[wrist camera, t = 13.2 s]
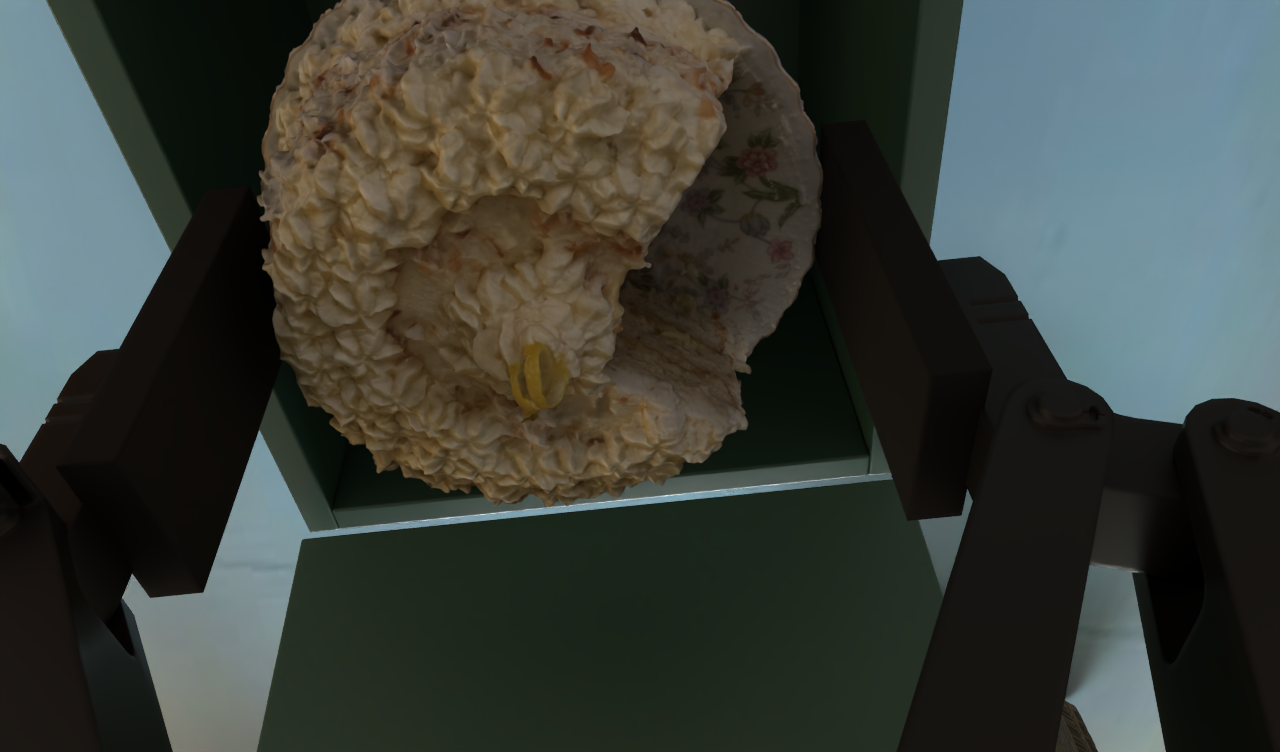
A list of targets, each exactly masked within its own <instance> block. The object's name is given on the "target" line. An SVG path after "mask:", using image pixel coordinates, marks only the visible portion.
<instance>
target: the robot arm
mask: <svg viewBox="0 0 1280 752" xmlns="http://www.w3.org/2000/svg"><path fill="white" fill-rule="evenodd" d="M819 161H820V163H821V166H822V169H823V184H822V193H821V196H820V200H821V208H822V217H821V228H820V229H819V230H818V233H817V234H818V235H817V239H816V251H815V256H816V259H817V262H818V264H819V267H820V270H821V273H822V276H823V279H824V282H825V285H826V288H827V290H828V293H829V296H830V299H831V302H832V305H833V308H834V311H835V313H836V316H837V319H838V322H839V325H840V328H841V331H842V334H843V337H844V339H845V342H846V345H847V348H848V351H849V354H850V357H851V360H852V363H853V365H854V368H855V371H856V374H857V377H858V380H859V383H860V386H861V388H862V391H863V394H864V397H865V400H866V403H867V406H868V409H869V412H870V414H871V417H872V420H873V423H874V426H875V429H876V432H877V435H878V438H879V440H880V443H881V446H882V449H883V452H884V455H885V458H886V461H887V464H888V466H889V469H890V472H891V475H892V478H893V481H894V484H895V487H896V489H897V492H898V495H899V498H900V501H901V504H902V507H903V510H904V513H905V515H906V518H907V521H911V520H921V519H931V518H941V517H951V516H961V515H962V511H963V506H964V502H965V497H966V492H967V489H968V491H969V493H970V496H971V498H972V500H973V503H972V506H971V509H970V512H969V516H968V519H967V522H966V525H965V529H964V532H963V535H962V539H961V542H960V545H959V548H958V552H957V555H956V558H955V562H954V565H953V568H952V571H951V575H950V578H949V581H948V584H947V588H946V591H945V594H944V598H943V601H942V604H941V607H940V611H939V614H938V617H937V621H936V624H935V627H934V630H933V634H932V637H931V640H930V643H929V647H928V650H927V653H926V657H925V660H924V663H923V666H922V670H921V673H920V676H919V679H918V683H917V686H916V689H915V693H914V696H913V699H912V702H911V706H910V709H909V712H908V716H907V719H906V722H905V725H904V729H903V732H902V735H901V738H900V742H899V745H898V748H897V752H1055V750H1056V744H1057V739H1058V733H1059V728H1060V723H1061V717H1062V712H1063V706H1064V701H1065V695H1066V690H1067V684H1068V679H1069V673H1070V668H1071V662H1072V657H1073V652H1074V646H1075V641H1076V635H1077V630H1078V624H1079V619H1080V613H1081V608H1082V602H1083V597H1084V591H1085V586H1086V580H1087V575H1088V570H1089V565H1093V566H1099V567H1105V568H1111V569H1117V570H1122V571H1128V572H1132V574H1133V580H1134V585H1135V590H1136V596H1137V601H1138V606H1139V612H1140V617H1141V622H1142V627H1143V633H1144V638H1145V643H1146V649H1147V654H1148V659H1149V665H1150V670H1151V675H1152V680H1153V686H1154V691H1155V696H1156V702H1157V707H1158V712H1159V718H1160V723H1161V728H1162V734H1163V739H1164V744H1165V749H1166V752H1280V412H1278V411H1275V410H1273V409H1271V408H1268V407H1266V406H1264V405H1261V404H1259V403H1256V402H1251V401H1246V400H1241V399H1235V398H1224V399H1211V400H1208V401H1206V402H1203V403H1200V404H1198V405H1195V406H1194V408H1193V409H1192V410H1191V411H1190V412H1189V413H1188V415H1187V416H1186V418H1185V420H1184V423H1183V424H1177V423H1169V422H1161V421H1153V420H1146V419H1138V418H1133V417H1128V416H1123V415H1119V414H1116V413H1113V411H1112V409H1111V408H1110V407H1109V405H1108V404H1107V402H1106V401H1105V400H1104V398H1103V397H1101V396H1100V395H1098V394H1097V393H1095V392H1094V391H1092V390H1091V389H1090V388H1088V387H1087V386H1084V385H1081V384H1078V383H1075V382H1072V381H1070V380H1067V378H1066V376H1065V375H1064V373H1063V371H1062V370H1061V368H1060V366H1059V365H1058V363H1057V361H1056V359H1055V358H1054V356H1053V354H1052V353H1051V351H1050V349H1049V348H1048V346H1047V344H1046V343H1045V341H1044V339H1043V338H1042V336H1041V334H1040V333H1039V331H1038V329H1037V328H1036V326H1035V324H1034V322H1033V321H1032V319H1029V317H1028V315H1029V314H1028V312H1027V311H1026V309H1025V307H1024V306H1023V304H1022V302H1021V301H1018V296H1017V294H1016V292H1015V291H1014V289H1013V287H1012V286H1011V284H1010V282H1009V280H1008V279H1007V277H1006V275H1005V274H1004V273H1002V272H1001V271H999V270H998V269H997V268H995V267H994V266H993V265H991V264H990V263H988V262H987V261H986V260H984V259H983V258H981V257H980V256H978V257H968V258H958V259H949V260H939V261H937V259H936V257H935V255H934V253H933V251H932V250H931V248H930V246H929V244H928V242H927V240H926V238H925V236H924V234H923V232H922V230H921V228H920V226H919V224H918V222H917V220H916V218H915V216H914V214H913V212H912V211H911V209H910V207H909V205H908V203H907V201H906V199H905V197H904V195H903V193H902V191H901V189H900V187H899V185H898V183H897V181H896V179H895V177H894V175H893V173H892V172H891V170H890V168H889V166H888V164H887V162H886V160H885V158H884V156H883V154H882V152H881V150H880V148H879V146H878V144H877V142H876V140H875V138H874V136H873V134H872V132H871V131H870V129H869V127H868V125H867V123H866V121H865V120H857V121H847V122H838V123H829V124H821V137H820V160H819ZM261 216H262V215H261V213H260V210H259V208H258V205H257V203H256V200H255V198H254V195H253V193H252V190H251V188H250V186H241V187H231V188H222V189H213V190H206V192H205V194H204V195H203V197H202V199H201V201H200V203H199V205H198V206H197V208H196V210H195V212H194V214H193V215H192V217H191V219H190V221H189V223H188V225H187V226H186V228H185V230H184V232H183V234H182V235H181V237H180V239H179V241H178V243H177V245H176V246H175V248H174V250H173V252H172V254H171V256H170V257H169V259H168V261H167V263H166V265H165V266H164V268H163V270H162V272H161V274H160V276H159V277H158V279H157V281H156V283H155V285H154V286H153V288H152V290H151V292H150V294H149V296H148V297H147V299H146V301H145V303H144V305H143V306H142V308H141V310H140V312H139V314H138V316H137V317H136V319H135V321H134V323H133V325H132V326H131V328H130V330H129V332H128V334H127V336H126V337H125V339H124V341H123V343H122V345H121V347H120V348H119V349H113V350H104V351H97V352H96V353H95V354H94V355H93V356H91V357H90V358H89V359H88V360H87V361H86V362H85V363H84V364H83V365H81V366H80V367H79V368H78V369H77V370H76V371H75V372H74V373H72V374H71V376H70V378H69V379H68V381H67V383H66V384H65V386H64V388H63V390H62V391H61V393H60V395H59V396H58V398H57V401H58V403H57V404H54V405H53V406H52V408H51V410H50V412H49V413H48V415H47V417H46V418H45V420H46V424H42V425H41V427H40V429H39V430H38V432H37V434H36V435H35V437H34V439H33V440H32V442H31V444H30V445H29V447H28V449H27V451H26V452H25V454H24V456H23V457H22V459H21V461H20V462H18V461H17V459H16V458H15V457H14V455H13V454H12V453H11V452H10V450H9V449H8V448H7V446H6V445H3V444H0V752H173V751H172V748H171V744H170V741H169V737H168V734H167V730H166V726H165V723H164V719H163V716H162V712H161V709H160V705H159V702H158V698H157V695H156V691H155V688H154V684H153V681H152V677H151V674H150V670H149V666H148V663H147V659H146V656H145V652H144V649H143V645H142V642H141V638H140V635H139V631H138V628H137V624H136V621H135V617H134V614H133V613H132V611H131V610H130V609H129V607H128V606H127V604H126V603H125V602H124V600H123V599H122V596H123V594H124V591H125V589H126V587H127V584H128V582H129V579H130V577H131V575H132V574H133V575H134V576H135V578H136V579H137V580H138V582H139V583H140V585H141V586H142V587H143V589H144V590H145V591H146V593H147V594H148V596H149V597H150V598H154V597H163V596H173V595H183V594H193V593H203V592H204V589H205V586H206V583H207V580H208V577H209V574H210V571H211V568H212V565H213V562H214V560H215V557H216V554H217V551H218V548H219V545H220V542H221V539H222V536H223V533H224V530H225V527H226V524H227V522H228V519H229V516H230V513H231V510H232V507H233V504H234V501H235V498H236V495H237V492H238V489H239V487H240V484H241V481H242V478H243V475H244V472H245V469H246V466H247V463H248V460H249V457H250V454H251V452H252V449H253V446H254V443H255V440H256V437H257V434H258V431H259V428H260V425H261V422H262V419H263V417H264V414H265V411H266V408H267V405H268V402H269V399H270V396H271V393H272V390H273V387H274V384H275V382H276V379H277V376H278V373H279V370H280V367H281V364H282V361H283V360H281V359H280V355H281V350H280V348H279V344H278V343H277V340H276V337H275V330H274V326H273V320H272V318H273V313H274V312H272V311H274V309H275V308H276V301H275V298H274V286H273V281H272V278H271V276H270V275H269V274H268V273H267V271H264V270H263V269H262V267H263V264H264V262H265V260H264V259H263V256H262V249H264V248H265V249H268V248H269V247H268V245H269V242H270V239H271V237H270V235H269V232H268V230H267V227H266V225H265V222H264V221H261V220H260V217H261Z"/></svg>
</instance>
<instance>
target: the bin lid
mask: <svg viewBox="0 0 1280 752" xmlns="http://www.w3.org/2000/svg"><path fill="white" fill-rule="evenodd" d="M942 601H943V595H942V592H941V588H940V585H939V582H938V579H937V576H936V573H935V570H934V567H933V564H932V561H931V557H930V554H929V551H928V548H927V545H926V542H925V539H924V536H923V533H922V530H921V527H920V523H919V520H911V521H907V518H906V515H905V513H904V510H903V507H902V504H901V501H900V498H899V495H898V492H897V489H896V487H895V484H894V481H893V479H891V480H881V481H871V482H862V483H852V484H842V485H832V486H822V487H812V488H803V489H793V490H783V491H773V492H763V493H753V494H744V495H734V496H724V497H714V498H704V499H694V500H685V501H675V502H665V503H655V504H645V505H635V506H626V507H616V508H606V509H596V510H586V511H576V512H567V513H557V514H547V515H537V516H527V517H517V518H507V519H498V520H488V521H478V522H468V523H458V524H448V525H439V526H429V527H419V528H409V529H399V530H389V531H380V532H370V533H360V534H350V535H340V536H330V537H321V538H311V539H303V540H302V542H301V547H300V551H299V556H298V561H297V566H296V570H295V575H294V580H293V584H292V589H291V594H290V598H289V603H288V608H287V612H286V617H285V622H284V626H283V631H282V636H281V641H280V645H279V650H278V655H277V659H276V664H275V669H274V673H273V678H272V683H271V687H270V692H269V697H268V701H267V706H266V711H265V716H264V720H263V725H262V730H261V734H260V739H259V744H258V748H257V752H897V748H898V745H899V742H900V738H901V735H902V732H903V729H904V725H905V722H906V719H907V716H908V712H909V709H910V706H911V702H912V699H913V696H914V693H915V689H916V686H917V683H918V679H919V676H920V673H921V670H922V666H923V663H924V660H925V657H926V653H927V650H928V647H929V643H930V640H931V637H932V634H933V630H934V627H935V624H936V621H937V617H938V614H939V611H940V607H941V604H942Z"/></svg>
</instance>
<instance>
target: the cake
mask: <svg viewBox="0 0 1280 752" xmlns="http://www.w3.org/2000/svg"><path fill="white" fill-rule="evenodd" d="M284 72H285V78H284V79H283V82H282V84H281V85H278V86H276V93H274V95H273V97H272V101H271V105H270V110H271V113H270V115H269V118H270V120H269V126H268V129H267V130H266V132H265V135H264V138H263V139H262V145H261V147H262V155H263V157H264V161H265V171H262V170H260V171H259V176H260V177H261V179H262V180H261V182H260V184H261V192H262V195H259V196H257V201H258V203H259V205H260V206H261V207H262V206H263V207H265V214H264V215H263V216H261V217H260V220H261V221H268V220H269V225H270V237H271V239H270V242H269V245H268V247H269V248H268V249H265V248H264V249H262V256H263V259H264V260H265V262H264V264H263V267H262V269H263V270H264V271H267V273H268V274H269V275H270V276H271V278H272V281H273V286H274V298H275V301H276V308H275V309H274V311H272V312H274V313H273V318H272V320H273V326H274V330H275V337H276V340H277V343H278V344H279V348H280V350H281V355H280V359H281V360H284V361H286V362H288V363H289V364H290V365H291V367H292V368H293V372H294V373H295V374H296V380H297V384H298V386H299V387H300V389H301V391H302V393H303V395H304V398H305V399H306V401H307V404H308V406H314V407H319V406H321V407H322V408H323V409H324V410H325V411H326V412H327V413H331V414H333V415H334V417H333V418H332V419H331V420H330V425H331V426H333V427H334V428H335V429H336V430H338V431H339V432H341V433H342V434H341V436H345V437H346V438H347V439H348V440H349V444H352V445H357V444H366V448H368V449H369V451H370V452H371V453H372V454H373V456H372V458H373V459H374V460H375V461H374V462H375V464H376V465H377V470H376V471H377V473H380V472H382V471H383V470H387V471H390V470H395V469H397V468H398V467H399V465H400V467H401V469H402V471H403V476H404V477H405V478H409V477H412V478H416V479H417V478H419V479H422V480H423V481H424V482H425V483H427V485H429V486H431V488H438V489H442V491H444V492H446V493H449V492H450V491H451V490H457V489H458V488H459V489H460V490H462V491H464V492H465V493H466V494H468V493H470V491H471V488H472V486H477V487H478V488H479V489H480V491H482V492H483V493H484V497H485V498H487V499H488V501H491V502H492V503H493V504H494V506H496V507H497V506H499V504H500V503H502V502H503V501H505V503H506V504H508V503H509V504H512V505H514V504H516V503H520V502H523V500H524V499H525V498H527V496H528V494H529V495H531V494H534V495H535V496H536V497H537V498H541V499H542V501H544V503H545V506H546V507H552V506H553V505H554V503H555V502H556V501H558V500H559V501H560V502H563V503H564V505H565V506H569V505H570V504H572V503H573V502H574V501H575V500H577V499H580V498H583V499H589V498H591V499H594V498H595V497H598V496H600V495H601V494H603V493H604V492H606V493H609V494H610V495H611V496H612V497H615V498H618V497H619V496H620V495H621V494H622V493H623V492H624V489H625V487H626V486H629V487H630V488H633V487H634V486H635V485H637V484H638V483H641V482H643V481H646V480H650V481H651V482H653V483H654V484H658V485H659V486H663V485H664V483H665V481H666V479H668V478H670V477H672V476H674V475H679V474H680V471H681V470H682V469H683V463H684V462H686V461H687V462H688V463H697V462H699V463H702V462H703V461H705V460H706V459H707V458H708V457H709V456H710V455H711V453H712V452H715V451H717V450H719V449H720V448H721V446H722V441H723V440H724V438H725V436H726V435H728V434H731V433H734V432H736V431H737V429H738V430H746V429H747V427H748V421H747V419H746V417H745V416H744V415H745V414H746V412H745V410H744V409H743V408H742V407H741V405H742V404H743V400H742V398H741V396H740V393H741V390H740V388H741V381H740V380H739V379H737V377H736V374H735V371H734V370H736V371H739V372H745V373H747V374H751V368H750V366H749V365H747V364H746V363H745V362H746V360H747V357H749V356H750V355H751V354H752V351H753V349H754V347H755V346H756V345H757V344H758V343H759V341H760V340H761V339H763V338H766V337H769V336H770V335H771V334H772V333H773V332H774V331H775V329H776V328H777V325H778V323H779V321H780V318H782V317H783V313H784V311H785V310H786V309H787V308H788V307H790V306H791V305H792V303H793V302H794V301H795V300H796V298H797V295H798V293H799V288H800V287H801V282H802V279H803V277H804V275H805V274H806V273H807V272H808V270H809V269H810V268H811V266H812V265H813V264H812V263H813V261H814V260H815V258H814V257H815V247H814V244H816V239H817V235H818V234H817V233H818V230H819V229H820V228H821V217H822V208H821V200H820V196H821V193H822V184H823V169H822V166H821V163H820V161H819V159H818V157H817V152H816V145H817V142H818V140H817V137H816V135H815V133H816V131H815V130H814V128H815V127H814V125H813V123H812V122H811V121H810V119H809V117H808V116H807V115H806V112H804V111H803V109H804V106H803V104H804V102H803V100H801V98H800V89H799V86H798V83H797V82H795V81H794V80H793V79H792V77H791V76H790V75H789V74H788V73H787V72H786V70H785V69H784V68H783V67H782V66H781V62H780V59H779V57H778V54H777V52H776V51H775V49H774V47H773V46H772V45H771V44H770V43H769V42H768V40H767V39H766V38H765V37H764V36H763V35H761V34H760V33H756V32H755V30H754V29H753V28H750V26H749V25H748V24H747V23H746V22H745V21H744V20H743V18H742V15H741V13H740V12H738V11H735V7H734V6H733V5H731V4H730V3H729V2H728V1H727V0H342V1H341V2H340V4H339V2H338V3H336V5H335V7H334V9H333V10H332V9H330V8H329V9H328V10H326V12H325V14H321V16H320V19H319V21H318V22H317V23H314V24H313V30H312V31H311V32H310V35H309V37H308V38H307V39H306V41H305V42H304V43H303V45H300V46H298V47H297V48H293V51H291V52H290V54H289V59H288V62H287V65H286V68H285V69H284Z"/></svg>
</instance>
